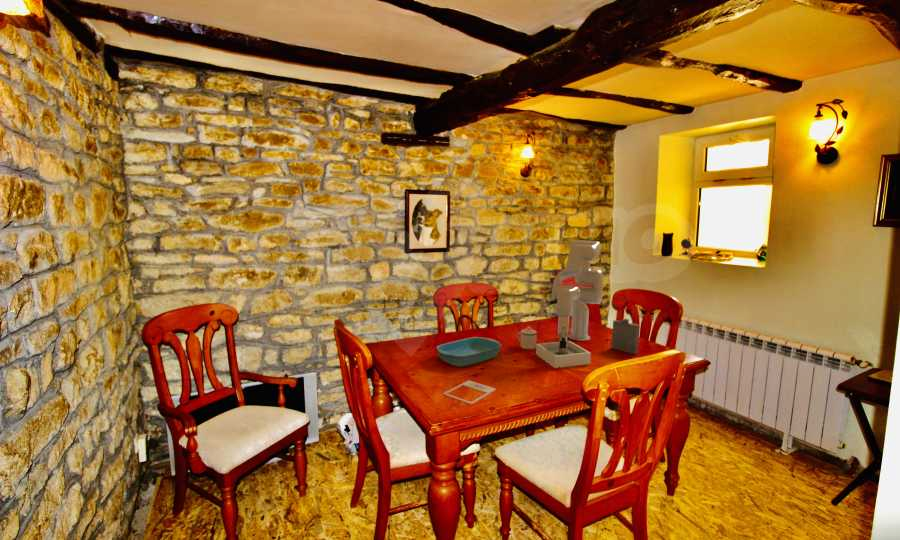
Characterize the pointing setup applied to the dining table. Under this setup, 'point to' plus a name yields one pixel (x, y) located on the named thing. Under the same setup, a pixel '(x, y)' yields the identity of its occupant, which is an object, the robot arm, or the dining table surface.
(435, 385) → the dining table surface
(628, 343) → the flask
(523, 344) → the teacup with lid
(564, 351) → the peg
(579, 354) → the open top box
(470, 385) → the photo frame
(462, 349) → the casserole dish
